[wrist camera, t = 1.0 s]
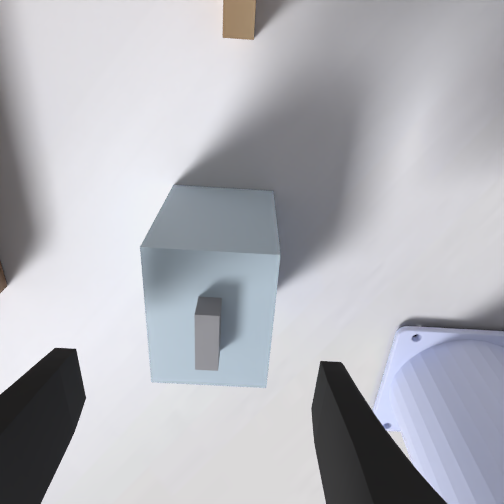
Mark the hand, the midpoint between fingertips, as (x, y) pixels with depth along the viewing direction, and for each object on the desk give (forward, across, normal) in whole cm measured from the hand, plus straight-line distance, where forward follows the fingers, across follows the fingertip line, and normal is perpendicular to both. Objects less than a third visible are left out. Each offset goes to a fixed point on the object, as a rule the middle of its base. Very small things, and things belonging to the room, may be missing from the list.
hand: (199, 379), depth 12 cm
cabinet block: (+9, 0, 0) cm, 9 cm away
